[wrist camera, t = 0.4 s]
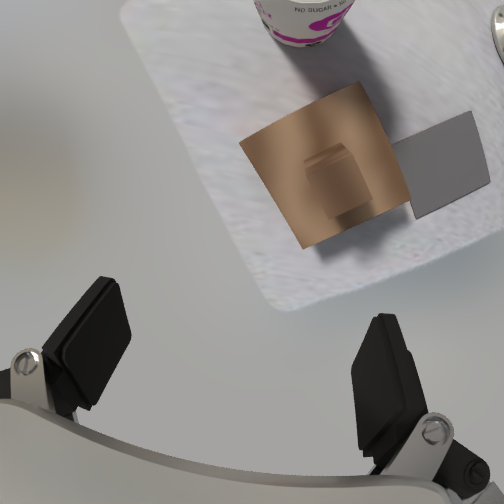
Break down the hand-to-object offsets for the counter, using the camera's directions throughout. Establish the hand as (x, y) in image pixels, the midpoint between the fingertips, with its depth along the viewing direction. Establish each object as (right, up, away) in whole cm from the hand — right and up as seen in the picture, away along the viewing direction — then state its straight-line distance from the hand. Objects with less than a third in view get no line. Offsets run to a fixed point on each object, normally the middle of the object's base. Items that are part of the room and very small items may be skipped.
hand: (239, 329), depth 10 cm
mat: (+24, +14, +19) cm, 34 cm away
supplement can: (+6, +28, +14) cm, 32 cm away
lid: (+8, +11, +17) cm, 22 cm away
